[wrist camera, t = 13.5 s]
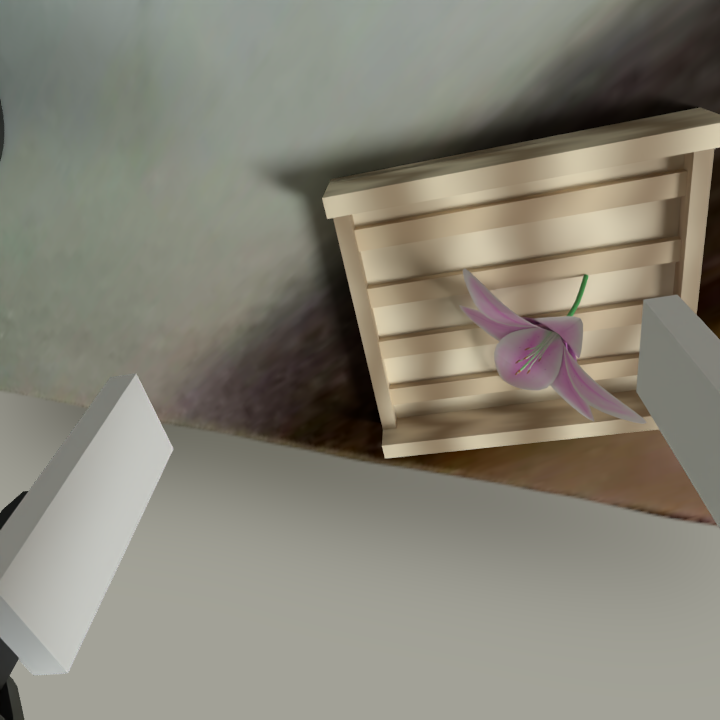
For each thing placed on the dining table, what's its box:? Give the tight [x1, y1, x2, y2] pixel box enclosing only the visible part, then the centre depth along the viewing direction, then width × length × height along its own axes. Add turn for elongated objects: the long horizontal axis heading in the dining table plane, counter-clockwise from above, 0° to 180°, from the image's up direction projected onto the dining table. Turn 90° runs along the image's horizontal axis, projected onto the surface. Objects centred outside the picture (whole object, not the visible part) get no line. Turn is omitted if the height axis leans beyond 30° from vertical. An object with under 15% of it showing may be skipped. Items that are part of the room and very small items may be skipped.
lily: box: [459, 268, 647, 424], centre depth 34 cm, size 12×12×10 cm
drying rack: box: [322, 108, 720, 458], centre depth 36 cm, size 21×19×4 cm
